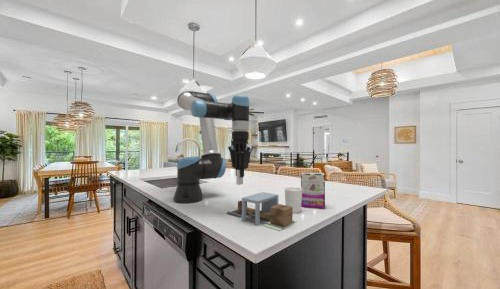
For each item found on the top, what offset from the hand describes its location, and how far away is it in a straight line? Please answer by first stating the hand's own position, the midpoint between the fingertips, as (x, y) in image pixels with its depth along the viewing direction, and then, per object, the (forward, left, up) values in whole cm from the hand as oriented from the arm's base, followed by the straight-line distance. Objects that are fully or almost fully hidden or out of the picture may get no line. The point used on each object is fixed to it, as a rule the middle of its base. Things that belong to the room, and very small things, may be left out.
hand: (239, 184), depth 96 cm
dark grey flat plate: (+1, 0, -13) cm, 13 cm away
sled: (+13, 0, -12) cm, 18 cm away
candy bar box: (+21, +30, -13) cm, 39 cm away
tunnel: (+12, 0, -13) cm, 17 cm away
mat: (+21, 0, -13) cm, 25 cm away
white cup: (+17, +18, -13) cm, 28 cm away
